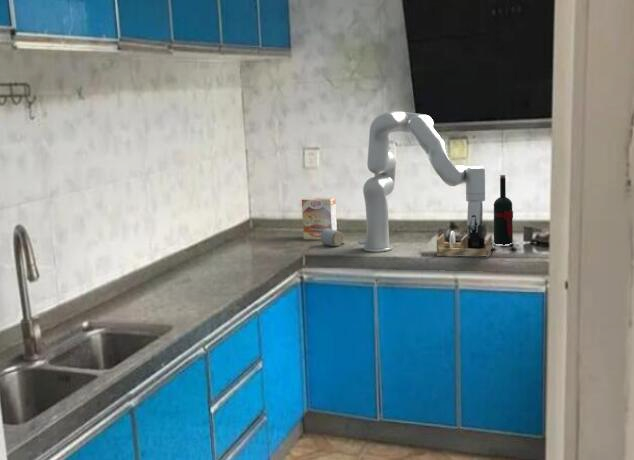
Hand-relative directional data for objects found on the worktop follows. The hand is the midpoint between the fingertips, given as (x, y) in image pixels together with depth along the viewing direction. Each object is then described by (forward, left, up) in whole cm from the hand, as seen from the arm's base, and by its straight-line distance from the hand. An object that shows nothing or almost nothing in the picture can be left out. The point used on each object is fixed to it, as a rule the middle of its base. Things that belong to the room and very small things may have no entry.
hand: (475, 240), depth 292 cm
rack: (-5, 0, -6) cm, 7 cm away
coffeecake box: (-78, +25, -6) cm, 82 cm away
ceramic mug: (-65, +10, -6) cm, 66 cm away
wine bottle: (+9, +18, -6) cm, 21 cm away
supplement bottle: (0, 0, -3) cm, 3 cm away
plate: (-10, 0, -6) cm, 11 cm away
